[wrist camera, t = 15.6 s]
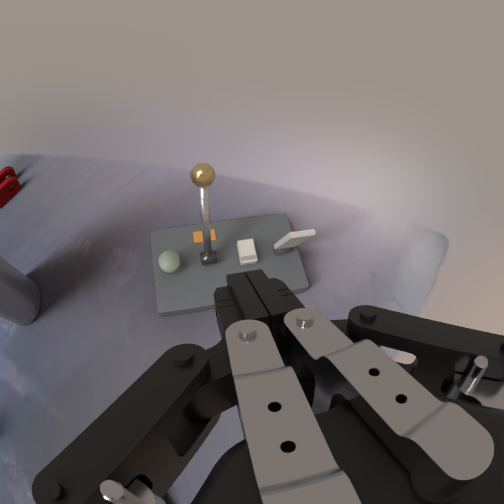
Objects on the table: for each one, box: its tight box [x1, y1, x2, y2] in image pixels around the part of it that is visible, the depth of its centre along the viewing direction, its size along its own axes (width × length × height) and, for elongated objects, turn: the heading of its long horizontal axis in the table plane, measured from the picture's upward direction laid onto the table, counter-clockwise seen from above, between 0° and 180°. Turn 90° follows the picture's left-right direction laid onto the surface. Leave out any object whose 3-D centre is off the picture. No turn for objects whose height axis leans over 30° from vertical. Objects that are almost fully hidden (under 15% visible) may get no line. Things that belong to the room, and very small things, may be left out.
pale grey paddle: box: [273, 229, 316, 254], centre depth 41 cm, size 2×4×10 cm, turn 104°
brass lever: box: [191, 163, 217, 265], centre depth 37 cm, size 3×3×16 cm
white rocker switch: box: [237, 239, 257, 266], centre depth 43 cm, size 4×2×2 cm, turn 14°
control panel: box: [150, 213, 309, 317], centre depth 45 cm, size 14×24×3 cm, turn 104°
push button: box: [159, 250, 180, 274], centre depth 41 cm, size 3×3×3 cm
